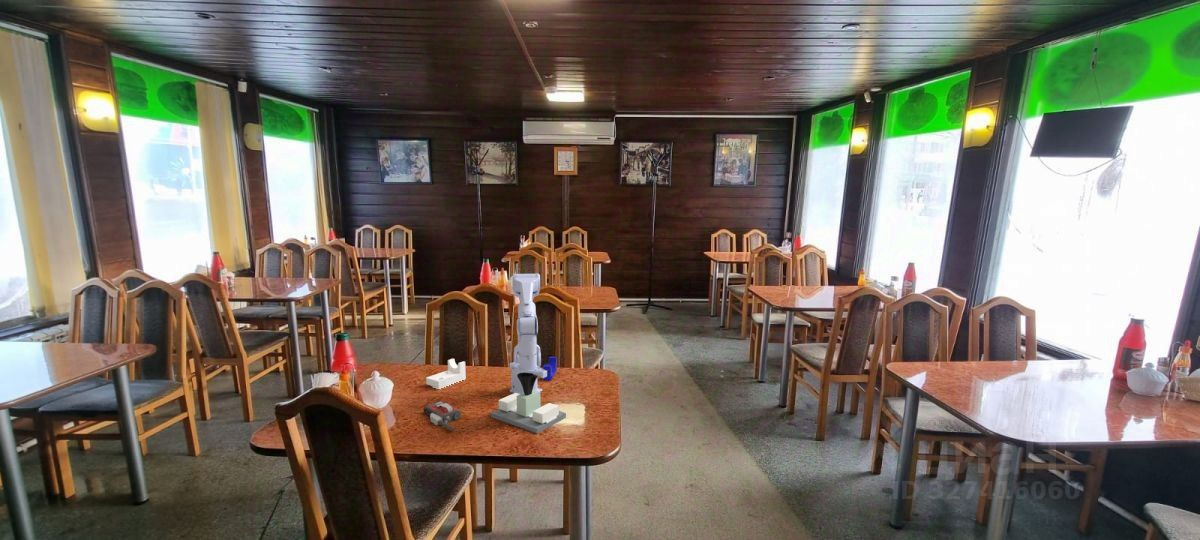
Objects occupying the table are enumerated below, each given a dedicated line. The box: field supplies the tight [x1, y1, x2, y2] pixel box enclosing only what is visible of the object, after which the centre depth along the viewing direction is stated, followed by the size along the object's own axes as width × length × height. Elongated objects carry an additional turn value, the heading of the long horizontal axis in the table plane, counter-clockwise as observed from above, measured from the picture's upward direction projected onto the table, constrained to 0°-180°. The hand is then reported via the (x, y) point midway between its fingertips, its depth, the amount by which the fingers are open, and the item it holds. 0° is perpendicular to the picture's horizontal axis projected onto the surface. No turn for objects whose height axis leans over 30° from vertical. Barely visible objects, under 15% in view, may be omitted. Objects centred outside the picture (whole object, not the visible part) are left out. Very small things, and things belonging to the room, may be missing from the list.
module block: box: [517, 390, 542, 417], centre depth 163 cm, size 4×7×6 cm, turn 145°
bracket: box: [425, 358, 467, 390], centre depth 193 cm, size 13×7×8 cm, turn 147°
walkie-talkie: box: [423, 400, 461, 431], centre depth 161 cm, size 9×4×20 cm
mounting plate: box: [490, 393, 567, 434], centre depth 163 cm, size 20×14×5 cm
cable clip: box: [542, 356, 558, 382], centre depth 202 cm, size 12×4×6 cm, turn 173°
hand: (528, 394), depth 162 cm, fingers closed, pressing on module block
